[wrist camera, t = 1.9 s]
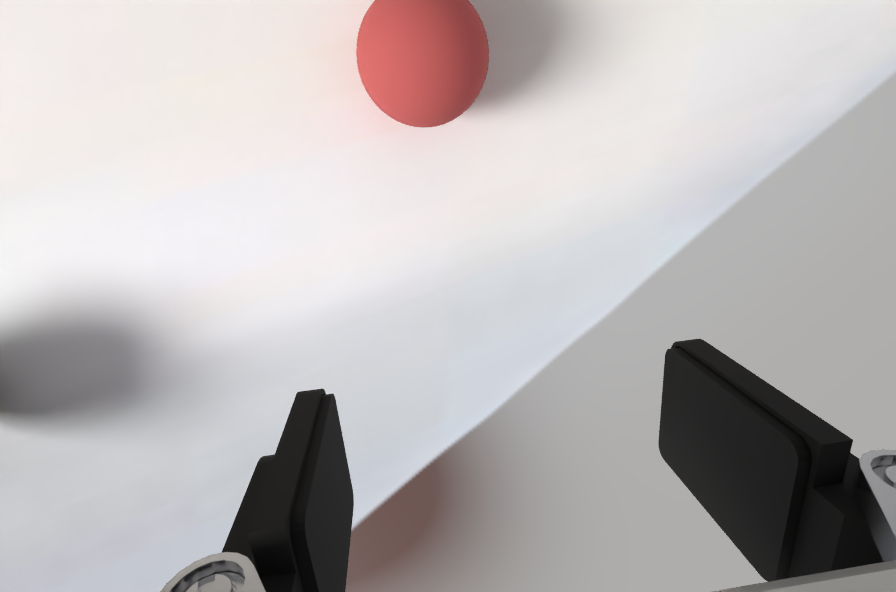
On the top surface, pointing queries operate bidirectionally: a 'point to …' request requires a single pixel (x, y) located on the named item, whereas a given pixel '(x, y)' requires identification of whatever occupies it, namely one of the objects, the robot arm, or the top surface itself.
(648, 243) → the top surface
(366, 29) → the ball
